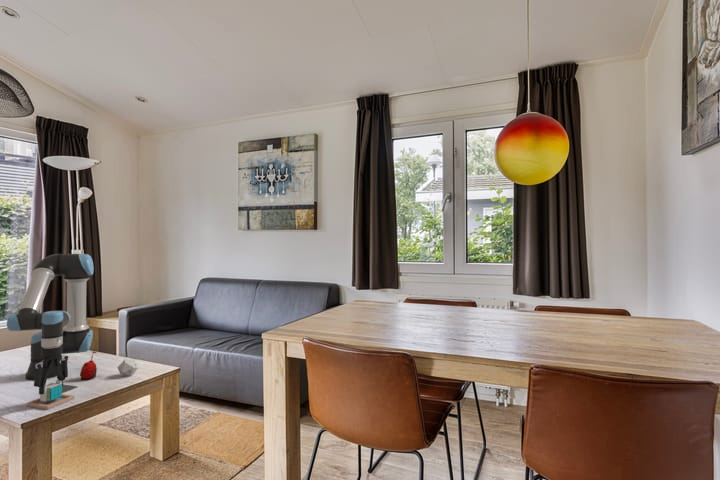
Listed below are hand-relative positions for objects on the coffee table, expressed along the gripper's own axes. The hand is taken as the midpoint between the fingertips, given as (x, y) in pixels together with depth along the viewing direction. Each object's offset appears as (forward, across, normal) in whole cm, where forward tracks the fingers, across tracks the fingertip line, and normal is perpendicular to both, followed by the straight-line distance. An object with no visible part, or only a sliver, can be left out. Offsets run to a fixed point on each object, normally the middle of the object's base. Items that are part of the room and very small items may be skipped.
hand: (51, 397), depth 175 cm
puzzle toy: (0, 0, 0) cm, 0 cm away
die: (+2, +38, -4) cm, 38 cm away
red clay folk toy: (+2, +28, +11) cm, 30 cm away
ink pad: (+2, +11, +8) cm, 14 cm away
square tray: (+2, 0, 0) cm, 2 cm away
